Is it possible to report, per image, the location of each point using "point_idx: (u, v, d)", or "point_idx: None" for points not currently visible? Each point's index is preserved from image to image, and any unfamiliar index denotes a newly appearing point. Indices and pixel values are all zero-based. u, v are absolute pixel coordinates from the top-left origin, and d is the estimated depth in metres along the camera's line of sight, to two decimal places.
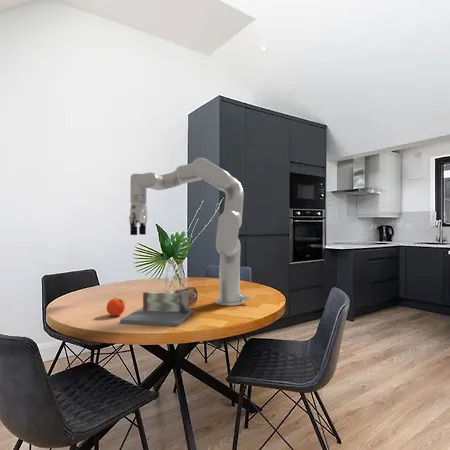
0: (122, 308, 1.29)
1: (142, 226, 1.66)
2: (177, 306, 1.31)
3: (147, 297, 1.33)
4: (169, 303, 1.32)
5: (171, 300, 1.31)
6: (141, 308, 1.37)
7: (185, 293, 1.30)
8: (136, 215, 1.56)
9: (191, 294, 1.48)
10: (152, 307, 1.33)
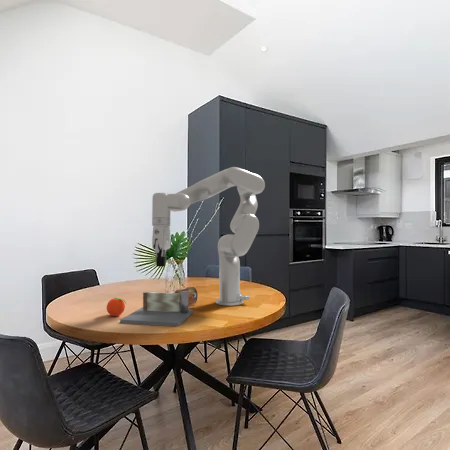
0: (122, 308, 1.29)
1: None
2: (177, 306, 1.31)
3: (147, 297, 1.33)
4: (169, 303, 1.32)
5: (171, 300, 1.31)
6: (141, 308, 1.37)
7: (185, 293, 1.30)
8: (160, 247, 1.35)
9: (191, 294, 1.48)
10: (152, 307, 1.33)
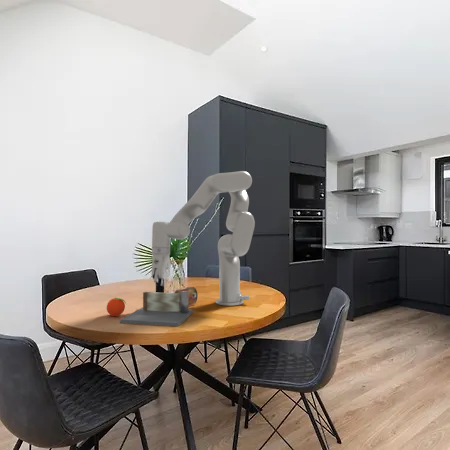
0: (122, 308, 1.29)
1: None
2: (177, 306, 1.31)
3: (147, 297, 1.33)
4: (169, 303, 1.32)
5: (171, 300, 1.31)
6: (141, 308, 1.37)
7: (185, 293, 1.30)
8: None
9: (191, 294, 1.48)
10: (152, 307, 1.33)
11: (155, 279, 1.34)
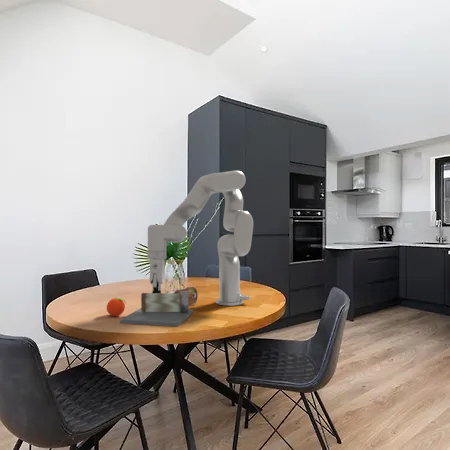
0: (122, 308, 1.29)
1: None
2: (177, 306, 1.31)
3: (146, 298, 1.31)
4: (169, 304, 1.31)
5: (171, 300, 1.31)
6: None
7: (185, 293, 1.30)
8: (158, 282, 1.30)
9: (191, 294, 1.48)
10: (151, 308, 1.31)
11: (154, 284, 1.29)
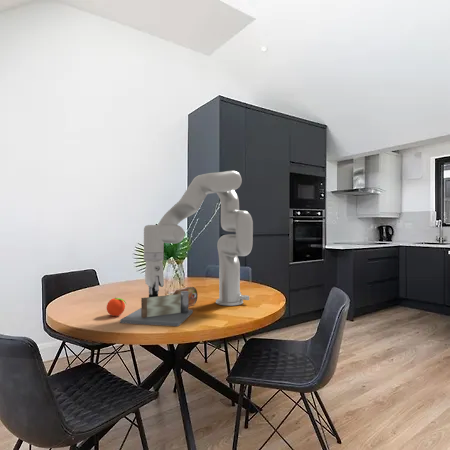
0: (122, 308, 1.29)
1: None
2: (178, 307, 1.29)
3: (147, 303, 1.23)
4: (170, 306, 1.27)
5: (172, 302, 1.28)
6: None
7: (185, 293, 1.30)
8: (160, 285, 1.25)
9: (191, 294, 1.48)
10: (152, 313, 1.24)
11: (157, 288, 1.23)
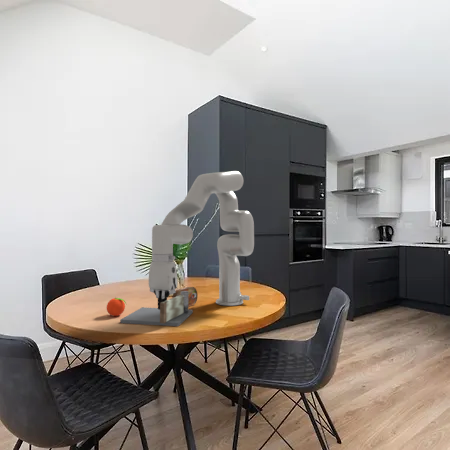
0: (122, 308, 1.29)
1: (162, 295, 1.21)
2: (182, 308, 1.28)
3: (166, 307, 1.17)
4: (178, 307, 1.25)
5: (179, 303, 1.26)
6: (141, 308, 1.37)
7: (185, 293, 1.30)
8: None
9: (191, 294, 1.48)
10: (169, 317, 1.19)
11: (174, 290, 1.19)
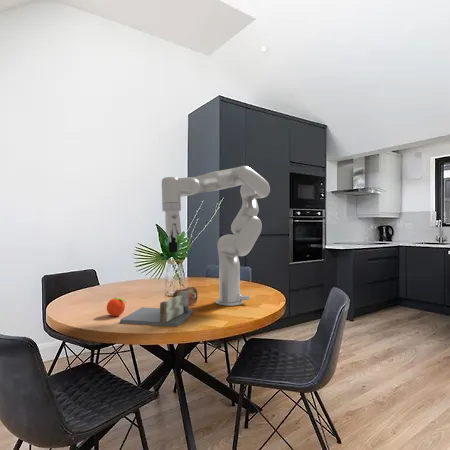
0: (122, 308, 1.29)
1: None
2: (182, 308, 1.28)
3: (166, 307, 1.17)
4: (178, 307, 1.25)
5: (179, 303, 1.26)
6: (141, 308, 1.37)
7: (185, 293, 1.30)
8: (177, 232, 1.33)
9: (191, 294, 1.48)
10: (169, 317, 1.19)
11: (174, 235, 1.32)
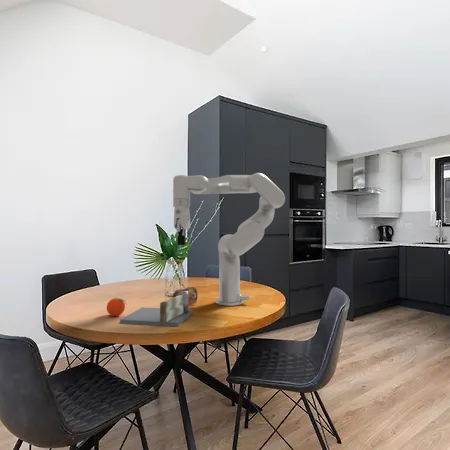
0: (122, 308, 1.29)
1: None
2: (182, 308, 1.28)
3: (166, 307, 1.17)
4: (178, 307, 1.25)
5: (179, 303, 1.26)
6: (141, 308, 1.37)
7: (185, 293, 1.30)
8: (181, 226, 1.43)
9: (191, 294, 1.48)
10: (169, 317, 1.19)
11: (177, 228, 1.42)
